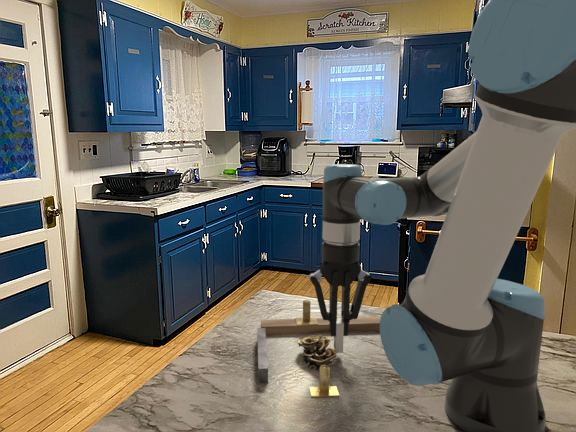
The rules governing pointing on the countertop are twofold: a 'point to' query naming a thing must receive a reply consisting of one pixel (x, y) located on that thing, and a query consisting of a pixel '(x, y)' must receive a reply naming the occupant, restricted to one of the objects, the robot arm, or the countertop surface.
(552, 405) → the countertop surface
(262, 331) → the end stop
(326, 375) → the near post
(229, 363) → the countertop surface
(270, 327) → the beam plank
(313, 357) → the mushroom
